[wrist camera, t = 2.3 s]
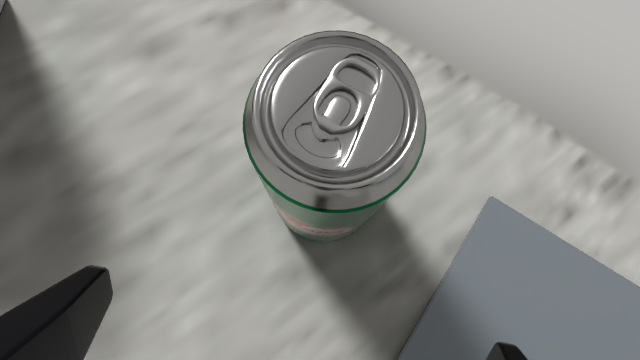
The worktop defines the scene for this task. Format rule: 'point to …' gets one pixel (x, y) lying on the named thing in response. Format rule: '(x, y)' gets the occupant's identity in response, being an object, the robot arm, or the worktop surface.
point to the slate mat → (526, 298)
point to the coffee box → (1, 4)
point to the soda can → (333, 131)
